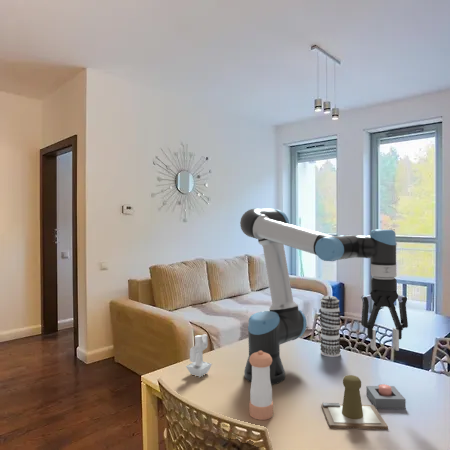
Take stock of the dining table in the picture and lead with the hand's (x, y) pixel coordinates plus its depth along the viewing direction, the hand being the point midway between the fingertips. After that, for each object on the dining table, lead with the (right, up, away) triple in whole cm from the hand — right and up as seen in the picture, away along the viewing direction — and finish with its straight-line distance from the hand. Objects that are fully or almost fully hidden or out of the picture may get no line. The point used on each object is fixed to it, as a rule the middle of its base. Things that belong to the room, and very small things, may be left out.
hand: (384, 349), depth 117 cm
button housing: (0, -17, 0) cm, 17 cm away
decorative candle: (-5, -17, +44) cm, 47 cm away
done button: (0, -15, 0) cm, 15 cm away
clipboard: (-13, -17, -9) cm, 24 cm away
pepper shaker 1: (-40, -18, -6) cm, 44 cm away
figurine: (-61, -18, +23) cm, 68 cm away
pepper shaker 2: (-13, -16, -9) cm, 23 cm away
